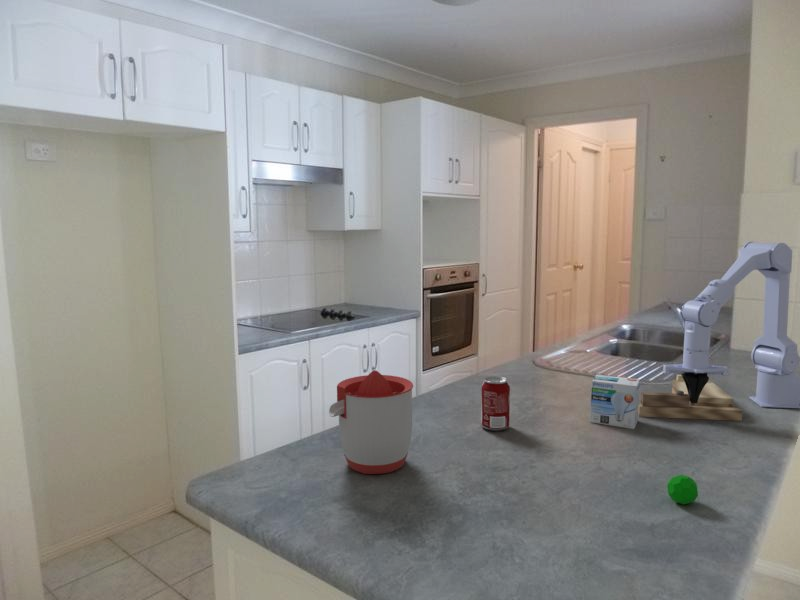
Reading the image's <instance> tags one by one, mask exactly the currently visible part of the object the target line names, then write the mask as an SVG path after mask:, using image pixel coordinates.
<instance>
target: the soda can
mask: <svg viewBox="0 0 800 600" xmlns="http://www.w3.org/2000/svg"><path fill="white" fill-rule="evenodd" d="M480 389H481V390H480V391H481V392H480V395H481V398H480V404H481V405H480V425H481V427H482V428H484V429H486V430H488V431H492V432H501V431H504V430H506V429H508V428H510V409H511V408H510V403H511V402H510V401H511V393H510V392H511V387H510V385H509V383H508V379H507V378H506V377H503V376H496V375H495V376H493V375H492V376H491V375H490V376H486V377H484V378H483V383H482V384H481V388H480Z"/></svg>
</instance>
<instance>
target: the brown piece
mask: <svg viewBox="0 0 800 600" xmlns="http://www.w3.org/2000/svg"><path fill="white" fill-rule="evenodd" d="M677 391H678V390H677V389H676V388H675V387H674V386H673V385H672V386H671V393H677ZM638 417H644V418H645V417H647V418H670V419H689V420H690V419H694V420H695V419H696V420H715V421H739V422H740V421H742V419H743V410H742V409H741V408H740V407H739V406H738V407H737V406H736V407H735V406H734V403H733V404H712V403H689V408H682V407H657V406H642V404H641V403H639V407H638Z"/></svg>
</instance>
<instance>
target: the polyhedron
mask: <svg viewBox="0 0 800 600" xmlns="http://www.w3.org/2000/svg"><path fill="white" fill-rule="evenodd" d="M666 484H667V486H666V488H667V493H668V496H669V497H670V499H671V500H672V501H674V502H675V503H678V504H681V505H686V504H690V503H692V502H696V500H697V498H698V496H699V491H698V485H697V483H696V482H695V481H694V479H693V478H691V477H690V476H688V475H685V474H679V475H676V476H673V477H671V478H670V479H669V480H668V482H667V483H666Z"/></svg>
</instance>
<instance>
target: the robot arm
mask: <svg viewBox="0 0 800 600" xmlns="http://www.w3.org/2000/svg"><path fill="white" fill-rule="evenodd" d="M792 260H793V249H792V248H791V247H790V246H789V245H788V244H787V243H785V242H778V243H777V242H763V241H762V242H760V241H747V242H746V243H744V244H743V246H742V247H741V248H740V249H738V257H737V259H736V260H735V262H734V263H732V265H731V266H729V269H728V270H727V271H726V272H725V274H724V275H723V276H722V277H721V278H720V279H719V278H718V279H717V278H716V279H713V280H711V281H710V282H708V285H707V286H706V287H705V288H704V289H703V290H702V291H701V292H700V293H699V294H698V295H697V297H695V298H694V299H692V300H691V299H690V300H688V301H687V302H685V303H684V304H683V305H682V307H681V310H680V311H679V316H680V319H681V321H682V327H683V329H684V336H683V338H684V339H683V352H682V353H683V354H682V355H683V356H682V363H673V364H672V363H670V364H663V365H662V367H663V368H662V369H663V370H662V371H663V372H662V373H664V374H665V375H670V374H678V375H682V377H683V379H684V382H685V384H686V387H687V390H688V395H689V396H690V402H691V403H697V402H698V399H699V396H700V393H701V391H702V389H703V388H704V386H705V385H706V383H707V382H708V380H709V381H710V376H709V375H713V376H714V375H716V376H725V377H727V376H729V375H728V374H729V367H727V366H725V365H724V366H723V365H713V364H709V363H710V362H709V361H710V347H711V332H712V325H713V324H715V323H716V322H717V320H718V317H719V313H720V312H721V310H722V309H721V308H722V307H723V306H724V305H725V304H726V303H727V302H728V301H730V299H731V297H733V296H734V288H735V287H736V286H737V285H738V284H739V283H740V282H742V281H743V280H744V279H745V278H746V277H747V276H749V275H750V274H751V272H753V271H756V270H757V271H758V272H760V274H761V275H763V276H764V278H765V279H764V284H765V285H764V303H763V304H764V305H763V326H762V335H760V336H759V337H758V338H756V339H755V340H753V341H754V342H753V344H754V345H753V349H752V350H751V354H750V359H751V362H752V364H753V365H755V369H756V370H757V375H756V376H757V377H756V390H755V396H753V395H751V396H749V399H750V400H751V401H753V402H754V403H755V404H757V405H758V406H760V407H762V408H776V409H777V408H780V409H781V408H782V409H783V408H784V409H800V375H799V373H797V372H795V371H796V370H797V369H798V368H799V365H800V355H799V353H798V344H797V343H796V342H795V341H794V340H793V339H791V338H790V337H789V336H788V318H789V299H790V281H791V273H792V265H793V261H792ZM708 376H709V377H708Z"/></svg>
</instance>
